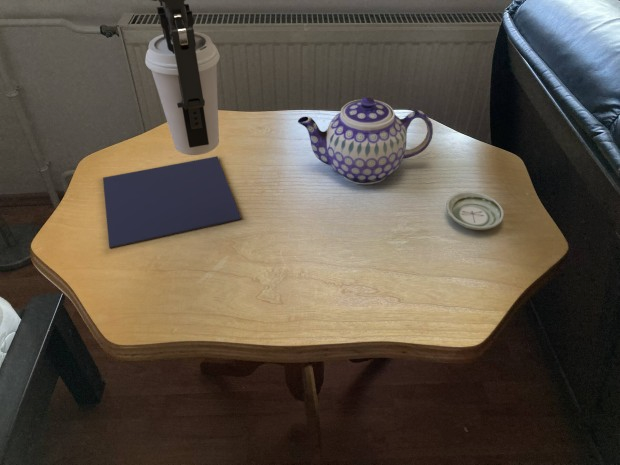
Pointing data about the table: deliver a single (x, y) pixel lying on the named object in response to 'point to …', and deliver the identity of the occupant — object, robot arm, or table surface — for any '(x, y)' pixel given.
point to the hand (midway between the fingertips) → (194, 130)
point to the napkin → (167, 201)
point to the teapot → (365, 140)
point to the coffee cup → (170, 93)
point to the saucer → (474, 210)
